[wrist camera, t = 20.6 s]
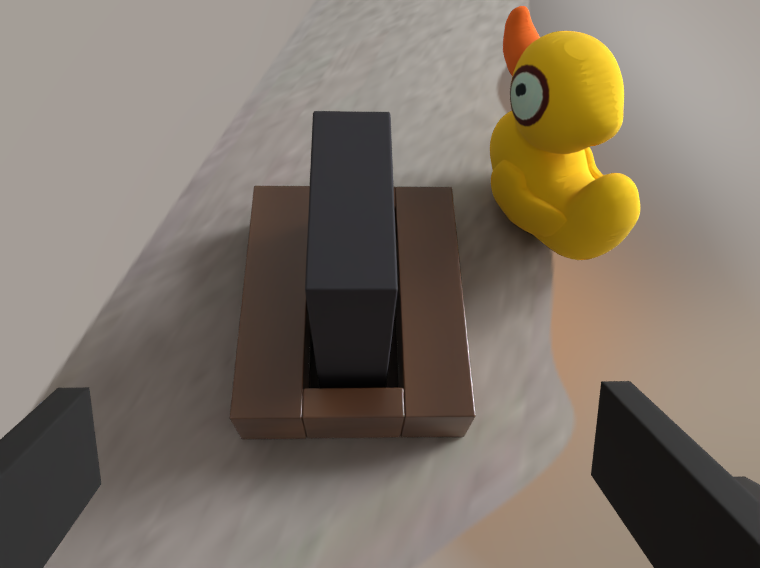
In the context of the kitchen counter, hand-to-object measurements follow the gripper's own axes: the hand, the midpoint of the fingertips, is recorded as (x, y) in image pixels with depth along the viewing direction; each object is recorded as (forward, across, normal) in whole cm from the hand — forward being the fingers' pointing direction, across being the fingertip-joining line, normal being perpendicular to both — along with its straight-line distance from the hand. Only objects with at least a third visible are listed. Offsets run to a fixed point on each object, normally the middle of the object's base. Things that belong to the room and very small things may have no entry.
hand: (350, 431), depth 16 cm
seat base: (+15, 0, -2) cm, 15 cm away
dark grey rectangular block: (+15, 0, -2) cm, 15 cm away
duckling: (+20, +10, +3) cm, 22 cm away
